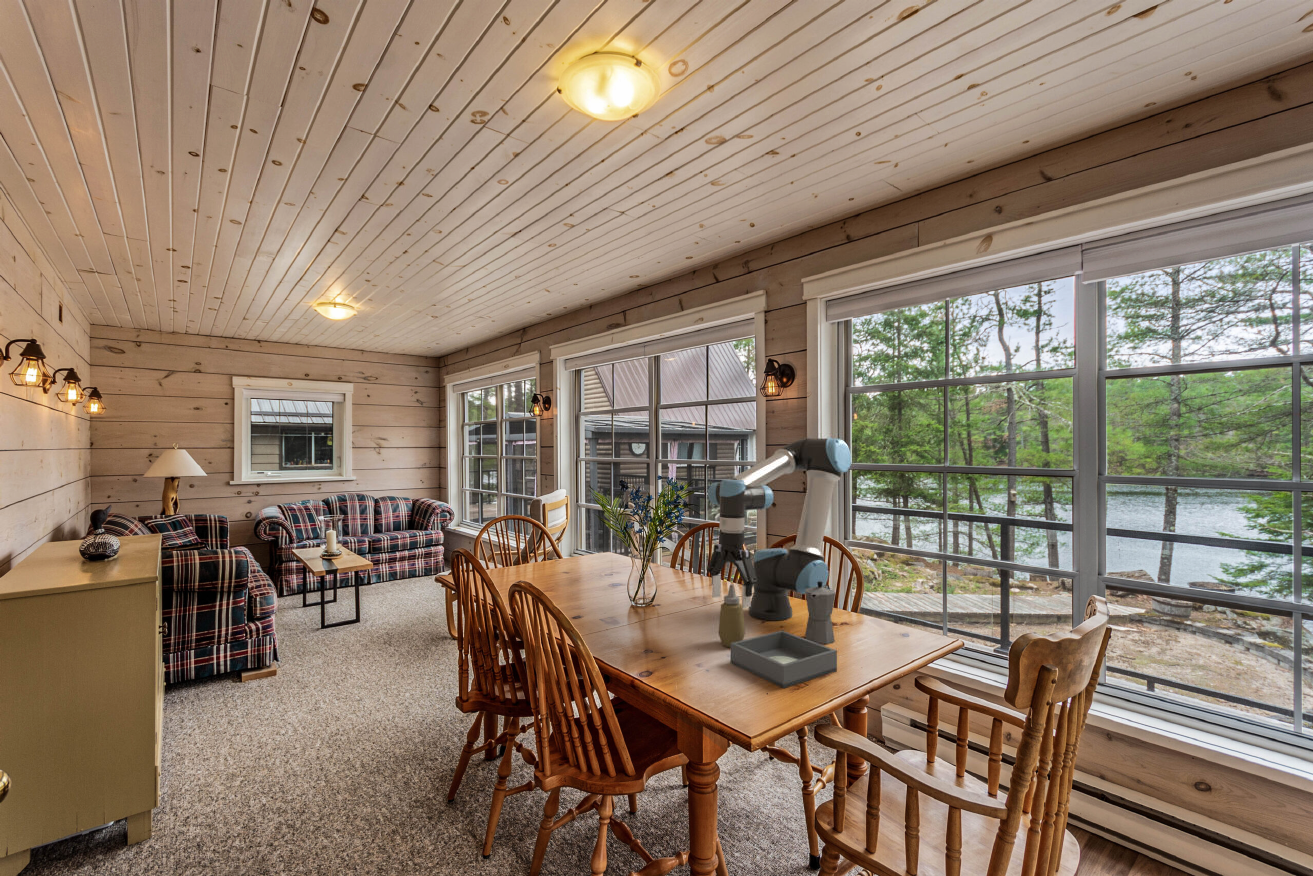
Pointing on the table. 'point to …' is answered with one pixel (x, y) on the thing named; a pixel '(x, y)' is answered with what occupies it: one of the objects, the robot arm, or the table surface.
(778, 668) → the bin
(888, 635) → the table surface
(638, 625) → the table surface
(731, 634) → the squeeze bottle
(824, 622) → the coffeepot
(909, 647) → the table surface
